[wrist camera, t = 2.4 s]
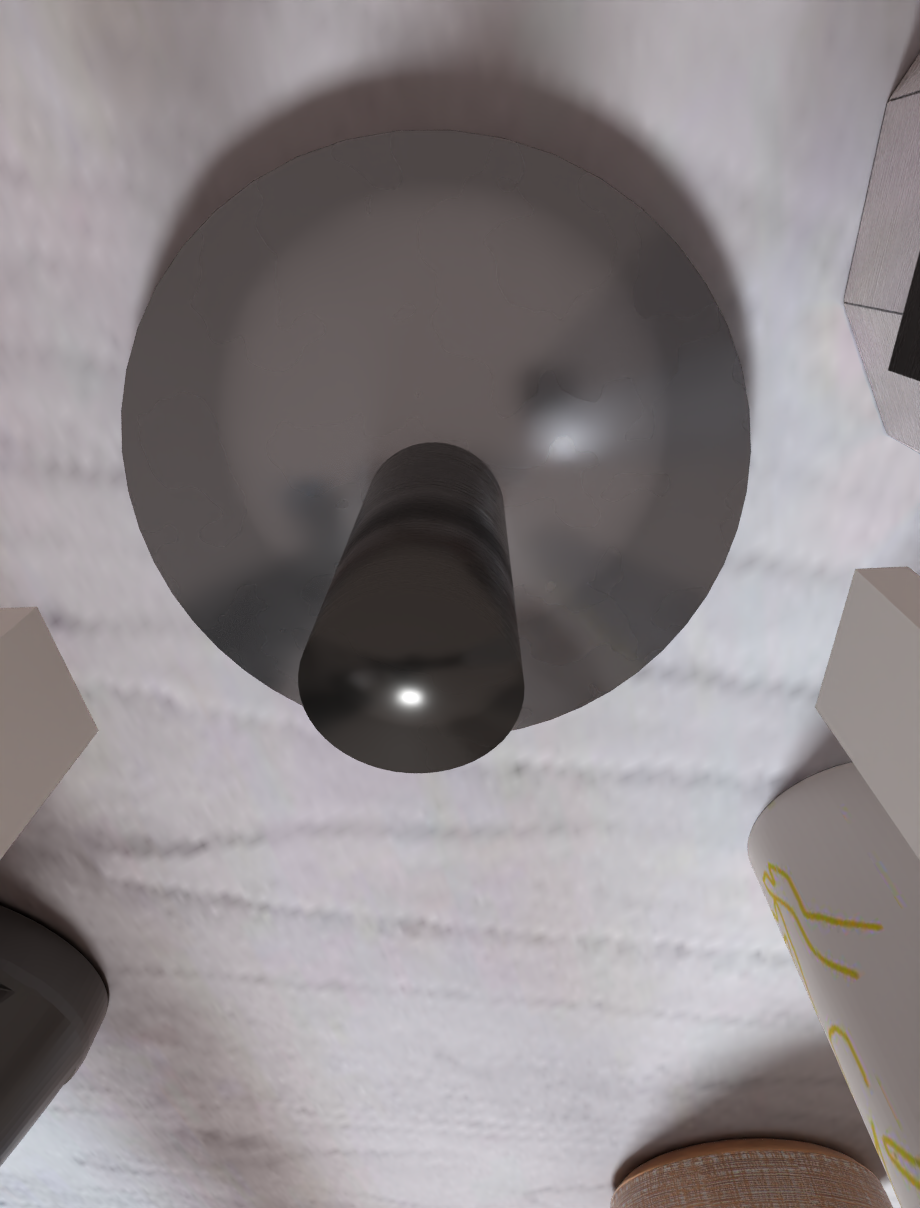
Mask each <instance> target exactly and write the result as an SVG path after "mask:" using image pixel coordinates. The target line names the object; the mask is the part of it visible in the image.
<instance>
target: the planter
mask: <svg viewBox="0 0 920 1208" xmlns="http://www.w3.org/2000/svg"><path fill="white" fill-rule="evenodd" d="M611 1208H893V1207H892V1204H891V1202H890V1200H889V1198H888V1196H887V1194H886V1192H885V1190H884V1188H883V1186H882V1184H881V1183H880V1181H879V1179H878V1178H877V1177H876V1175H875V1174H874V1173H873V1172H872V1171H870V1170H869V1169H868V1168H866V1167H865V1166H863V1165H862V1164H860V1163H859V1162H857V1161H856V1160H854V1159H852V1158H850V1157H849V1156H847V1155H845V1154H843V1153H841V1152H838V1151H836V1150H833V1149H830V1148H827V1147H823V1146H820V1145H816V1144H812V1143H808V1142H802V1141H794V1140H784V1139H772V1138H749V1139H730V1140H721V1141H714V1142H708V1143H702V1144H697V1145H692V1146H688V1147H684V1148H681V1149H677V1150H674V1151H671V1152H668V1153H665V1154H662V1155H660V1156H657V1157H655V1158H653V1159H651V1160H649V1161H647V1162H645V1163H644V1164H642V1165H640V1166H639V1167H637V1168H636V1169H634V1170H633V1171H632V1172H631V1173H630V1174H629V1175H628V1176H627V1177H626V1178H625V1179H624V1180H623V1181H622V1182H621V1184H620V1185H619V1186H618V1188H617V1189H616V1191H615V1192H614V1194H613V1196H612V1199H611Z"/></svg>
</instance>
